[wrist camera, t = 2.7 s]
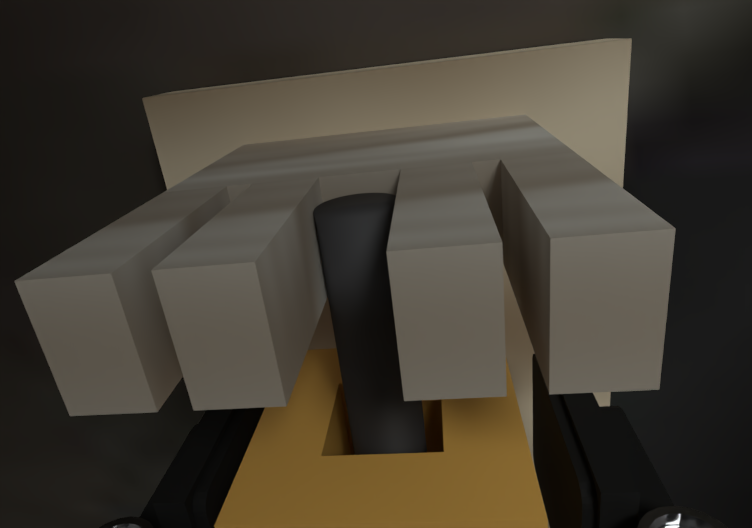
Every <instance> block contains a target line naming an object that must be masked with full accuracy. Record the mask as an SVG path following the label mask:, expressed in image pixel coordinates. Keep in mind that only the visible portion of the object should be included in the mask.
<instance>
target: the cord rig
mask: <svg viewBox="0 0 752 528" xmlns="http://www.w3.org/2000/svg"><path fill="white" fill-rule="evenodd" d="M631 42H632V39H599V40H591V41H583V42H574V43H566V44H558V45H550V46H542V47H533V48H525V49H517V50H509V51H501V52H492V53H484V54H476V55H468V56H460V57H452V58H443V59H435V60H427V61H419V62H411V63H402V64H394V65H386V66H378V67H370V68H361V69H353V70H345V71H337V72H329V73H321V74H312V75H304V76H296V77H288V78H280V79H271V80H263V81H255V82H247V83H239V84H230V85H222V86H214V87H206V88H198V89H190V90H181V91H173V92H168V93H164V94H159V95H154V96H150V97H145V98H142V100H143V103H144V107H145V111H146V114H147V118H148V122H149V125H150V129H151V133H152V136H153V140H154V144H155V147H156V151H157V155H158V158H159V162H160V166H161V169H162V173H163V177H164V180H165V184H166V188H167V191H165V192H163V193H162V194H160V195H158V196H156V197H155V198H153V199H151V200H150V201H148V202H146V203H145V204H143V205H141V206H140V207H138V208H136V209H135V210H133V211H131V212H130V213H128V214H126V215H125V216H123V217H121V218H119V219H118V220H116V221H114V222H113V223H111V224H109V225H108V226H106V227H104V228H103V229H101V230H99V231H98V232H96V233H94V234H93V235H91V236H89V237H88V238H86V239H84V240H82V241H81V242H79V243H77V244H76V245H74V246H72V247H71V248H69V249H67V250H66V251H64V252H62V253H61V254H59V255H57V256H56V257H54V258H52V259H51V260H49V261H47V262H45V263H44V264H42V265H40V266H39V267H37V268H35V269H34V270H32V271H30V272H29V273H27V274H25V275H24V276H22V277H20V278H19V279H17V280H15V281H14V282H15V284H16V287H17V289H18V292H19V294H20V296H21V299H22V301H23V304H24V306H25V309H26V311H27V313H28V316H29V318H30V321H31V323H32V326H33V328H34V330H35V333H36V335H37V338H38V340H39V342H40V345H41V347H42V350H43V352H44V355H45V357H46V359H47V362H48V364H49V367H50V369H51V372H52V374H53V376H54V379H55V381H56V384H57V386H58V389H59V391H60V393H61V396H62V398H63V401H64V403H65V405H66V408H67V410H68V413H69V415H70V416H85V415H107V414H129V413H151V412H158V411H159V409H160V408H161V407H162V405H163V404H164V402H165V401H166V400H167V398H168V397H169V395H170V394H171V393H172V391H173V390H174V388H175V387H176V386H177V384H178V383H179V381H180V380H181V378H182V377H184V380H185V384H186V387H187V390H188V394H189V397H190V400H191V404H192V407H193V410H194V411H196V410H218V409H240V408H262V407H284V406H287V404H288V402H289V399H290V396H291V393H292V391H293V388H294V385H295V383H296V380H297V377H298V375H299V372H300V369H301V367H302V364H303V361H304V359H305V356H306V353H307V351H308V350H315V349H332V348H337V354H338V360H339V366H340V371H341V377H342V383H343V389H344V395H345V401H346V407H347V413H348V419H349V425H350V431H351V437H352V442H353V448H354V454H355V455H369V454H399V453H427V446H426V436H425V427H424V417H423V407H422V400H439V399H462V398H484V397H506V396H507V384H506V359H507V363H508V367H509V371H510V374H511V378H512V382H513V386H514V390H515V394H516V398H517V402H518V406H519V409H520V413H521V417H522V421H523V425H524V429H525V433H526V437H527V441H528V445H529V448H530V452H531V456H532V460H533V464H534V459H533V383H532V357H533V354H535V355H536V358H537V361H538V364H539V366H540V369H541V372H542V375H543V378H544V381H545V384H546V386H547V389H548V392H549V395H550V394H573V393H593V394H594V396H595V398H596V400H597V402H598V404H599V407H601V406H610V393H611V392H617V391H639V390H659V387H660V377H661V367H662V357H663V347H664V337H665V327H666V318H667V308H668V298H669V288H670V278H671V268H672V258H673V249H674V239H675V229H676V228H674V227H673V226H672V225H670V224H669V223H668V222H666V221H665V220H664V219H662V218H661V217H660V216H658V215H657V214H656V213H654V212H653V211H652V210H650V209H649V208H648V207H647V206H645V205H644V204H643V203H641V202H640V201H639V200H637V199H636V198H635V197H633V196H632V195H631V194H629V193H628V192H627V191H625V190H624V189H623V176H624V159H625V142H626V126H627V109H628V92H629V76H630V59H631ZM534 468H535V466H534ZM535 472H536V471H535ZM536 476H537V475H536ZM537 480H538V479H537ZM538 484H539V483H538ZM541 495H542V494H541ZM542 499H543V498H542ZM543 503H544V502H543ZM544 507H545V506H544ZM545 511H546V510H545ZM546 515H547V514H546ZM547 519H548V518H547ZM548 528H550V526H549V522H548Z"/></svg>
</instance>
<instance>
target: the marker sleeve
mask: <svg viewBox="0 0 752 528" xmlns="http://www.w3.org/2000/svg"><path fill="white" fill-rule="evenodd" d="M506 384H507V396H506V397H484V398H462V399H439V400H422V407H423V417H424V427H425V436H426V446H427V453H399V454H369V455H355V454H354V448H353V442H352V437H351V431H350V425H349V419H348V413H347V407H346V401H345V395H344V389H343V383H342V377H341V371H340V366H339V360H338V354H337V348H332V349H315V350H308V351H307V353H306V356H305V359H304V361H303V364H302V367H301V369H300V372H299V375H298V377H297V380H296V383H295V385H294V388H293V391H292V393H291V396H290V399H289V402H288V404H287V406H284V407H265V409H264V411H263V413H262V416H261V418H260V420H259V423H258V425H257V427H256V430H255V432H254V434H253V437H252V439H251V441H250V444H249V446H248V448H247V451H246V453H245V455H244V457H243V460H242V462H241V464H240V467H239V469H238V471H237V474H236V476H235V478H234V481H233V483H232V485H231V488H230V490H229V492H228V495H227V497H226V499H225V502H224V504H223V506H222V509H221V511H220V513H219V516H218V518H217V520H216V523H215V525H214V527H215V528H548V519H547V515H546V511H545V507H544V503H543V499H542V495H541V491H540V487H539V484H538V480H537V476H536V472H535V468H534V464H533V460H532V456H531V452H530V448H529V445H528V441H527V437H526V433H525V429H524V425H523V421H522V417H521V413H520V409H519V406H518V402H517V398H516V394H515V390H514V386H513V382H512V378H511V374H510V371H509V367H508V363H507V359H506Z"/></svg>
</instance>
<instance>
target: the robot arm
mask: <svg viewBox="0 0 752 528" xmlns="http://www.w3.org/2000/svg"><path fill="white" fill-rule="evenodd" d="M532 383H533V459H534V466H535V471H536V475H537V479H538V483H539V487H540V491H541V494H542V498H543V502H544V506H545V510H546V514H547V518H548V522H549V526H550V528H727V527H726V526H725V525H724V524H722V523H721V522H720V521H718V520H716V519H715V518H713V517H711V516H709V515H707V514H705V513H703V512H700V511H697V510H694V509H691V508H687V507H679V506H674V505H673V503H672V501H671V499H670V497H669V495H668V494H667V492H666V490H665V488H664V486H663V484H662V482H661V480H660V479H659V477H658V475H657V473H656V471H655V469H654V467H653V465H652V464H651V462H650V460H649V458H648V456H647V454H646V452H645V450H644V449H643V447H642V445H641V443H640V441H639V439H638V437H637V435H636V434H635V432H634V430H633V428H632V426H631V424H630V422H629V420H628V419H627V417H626V415H625V413H624V412H623V410H622V409H621V408H620V407H619V406H601V407H599V404H598V402H597V400H596V398H595V396H594V394H593V393H573V394H550V395H549V392H548V389H547V386H546V384H545V381H544V378H543V375H542V372H541V369H540V366H539V364H538V361H537V358H536V355H535V354H533V357H532ZM264 409H265V407H262V408H240V409H218V410H207V411H206V412H205V414H204V416H203V418H202V419H201V421H200V423H199V424H197V425H195V426H194V427H193V429H192V430H191V431H190V433H189V435H188V436H187V438H186V440H185V442H184V443H183V445H182V447H181V448H180V450H179V452H178V453H177V455H176V457H175V458H174V460H173V462H172V463H171V465H170V467H169V469H168V470H167V472H166V474H165V475H164V477H163V479H162V480H161V482H160V484H159V485H158V487H157V489H156V490H155V492H154V494H153V495H152V497H151V499H150V501H149V502H148V504H147V506H146V507H145V509H144V511H143V512H142V514H141V516H140V517H125V518H119V519H116V520H114V521H111V522H108V523H106V524H104V525H102V526H101V527H99V528H215V527H214V525H215V523H216V520H217V518H218V516H219V513H220V511H221V509H222V506H223V504H224V502H225V499H226V497H227V495H228V492H229V490H230V488H231V485H232V483H233V481H234V478H235V476H236V474H237V471H238V469H239V467H240V464H241V462H242V460H243V457H244V455H245V453H246V451H247V448H248V446H249V444H250V441H251V439H252V437H253V434H254V432H255V430H256V427H257V425H258V423H259V420H260V418H261V416H262V413H263V411H264Z"/></svg>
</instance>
